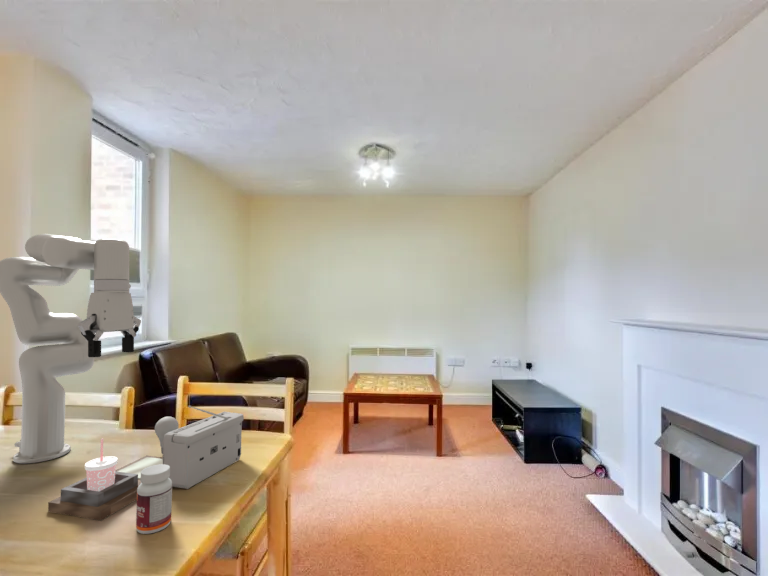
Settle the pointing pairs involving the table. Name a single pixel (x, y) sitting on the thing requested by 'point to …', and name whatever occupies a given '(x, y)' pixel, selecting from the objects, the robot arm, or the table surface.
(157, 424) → the lightbulb
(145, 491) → the pill bottle
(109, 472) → the beverage cup
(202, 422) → the stereo radio cassette player
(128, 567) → the table surface
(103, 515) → the socket board
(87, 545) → the table surface
